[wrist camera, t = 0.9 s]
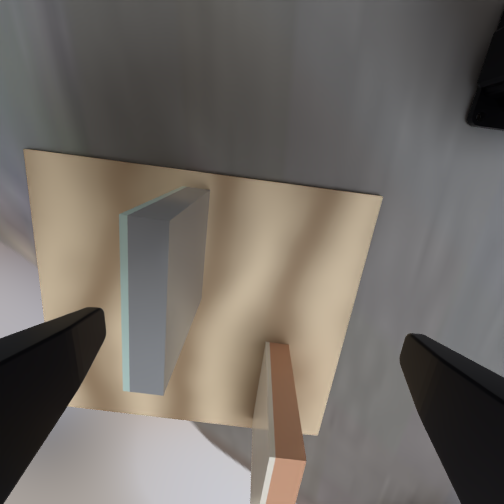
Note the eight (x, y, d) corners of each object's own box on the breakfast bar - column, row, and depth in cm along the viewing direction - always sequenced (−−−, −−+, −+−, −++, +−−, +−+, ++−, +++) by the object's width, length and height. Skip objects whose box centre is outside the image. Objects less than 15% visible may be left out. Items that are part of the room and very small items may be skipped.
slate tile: (210, 189, 19) (169, 221, 10) (201, 299, 21) (163, 395, 13) (182, 186, 19) (118, 214, 10) (177, 296, 21) (122, 390, 13)
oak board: (380, 195, 19) (383, 196, 19) (316, 431, 26) (317, 435, 26) (28, 149, 19) (23, 148, 18) (57, 401, 26) (54, 404, 25)
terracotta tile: (288, 344, 23) (306, 461, 14) (273, 421, 25) (280, 559, 17) (265, 341, 23) (269, 456, 14) (252, 419, 25) (249, 556, 17)
